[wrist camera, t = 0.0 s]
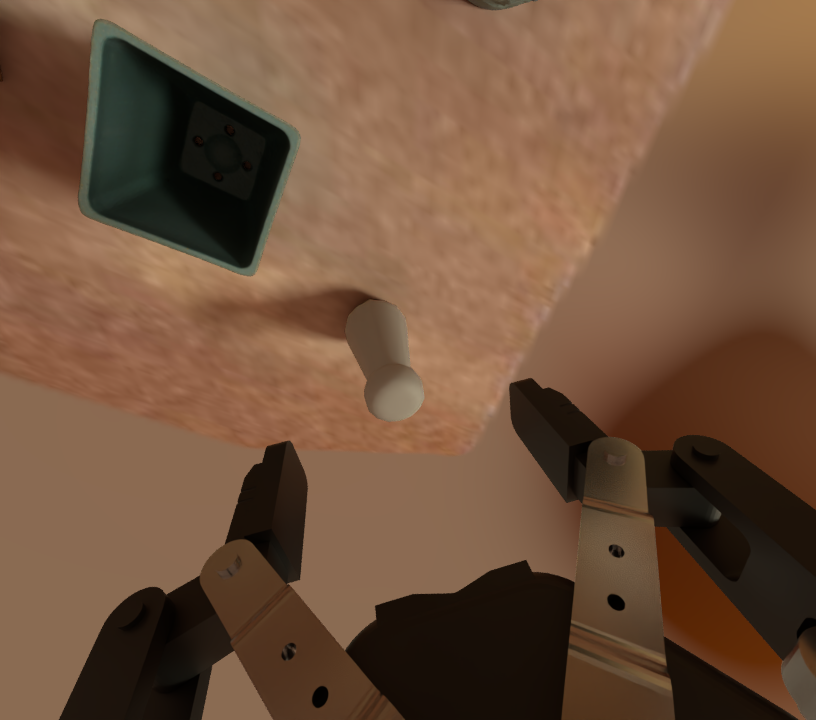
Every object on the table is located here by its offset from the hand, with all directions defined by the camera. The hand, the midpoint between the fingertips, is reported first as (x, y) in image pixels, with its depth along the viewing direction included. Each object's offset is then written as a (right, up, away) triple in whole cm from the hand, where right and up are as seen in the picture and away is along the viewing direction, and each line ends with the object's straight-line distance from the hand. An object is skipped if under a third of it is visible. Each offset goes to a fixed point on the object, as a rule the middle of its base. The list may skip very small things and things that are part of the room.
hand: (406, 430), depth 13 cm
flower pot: (-13, +17, +13) cm, 25 cm away
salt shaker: (-3, +7, +23) cm, 24 cm away
